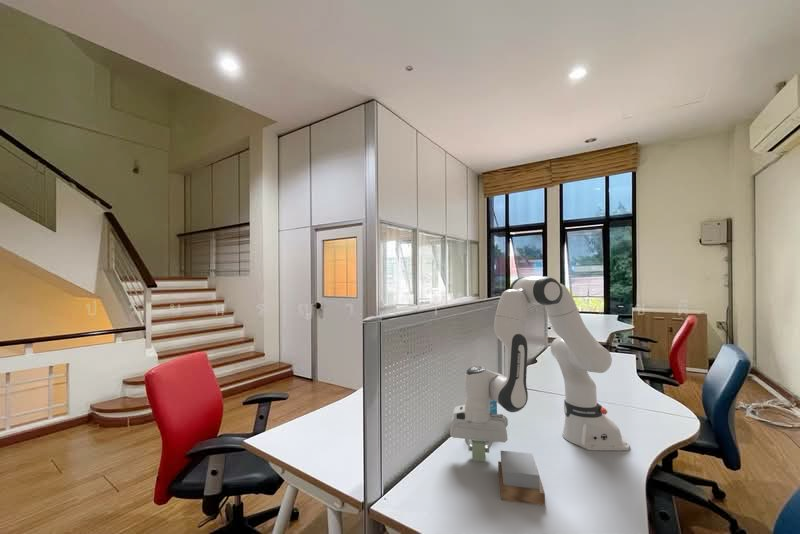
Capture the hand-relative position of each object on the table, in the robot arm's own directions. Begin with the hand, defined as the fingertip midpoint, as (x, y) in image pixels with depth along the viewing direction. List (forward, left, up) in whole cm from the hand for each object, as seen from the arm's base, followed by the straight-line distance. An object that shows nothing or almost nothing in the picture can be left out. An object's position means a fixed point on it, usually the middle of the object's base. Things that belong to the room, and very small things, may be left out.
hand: (478, 451), depth 118 cm
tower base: (-12, +14, -3) cm, 19 cm away
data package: (-2, -22, -3) cm, 22 cm away
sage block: (0, 0, -2) cm, 2 cm away
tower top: (-12, +14, +1) cm, 19 cm away
